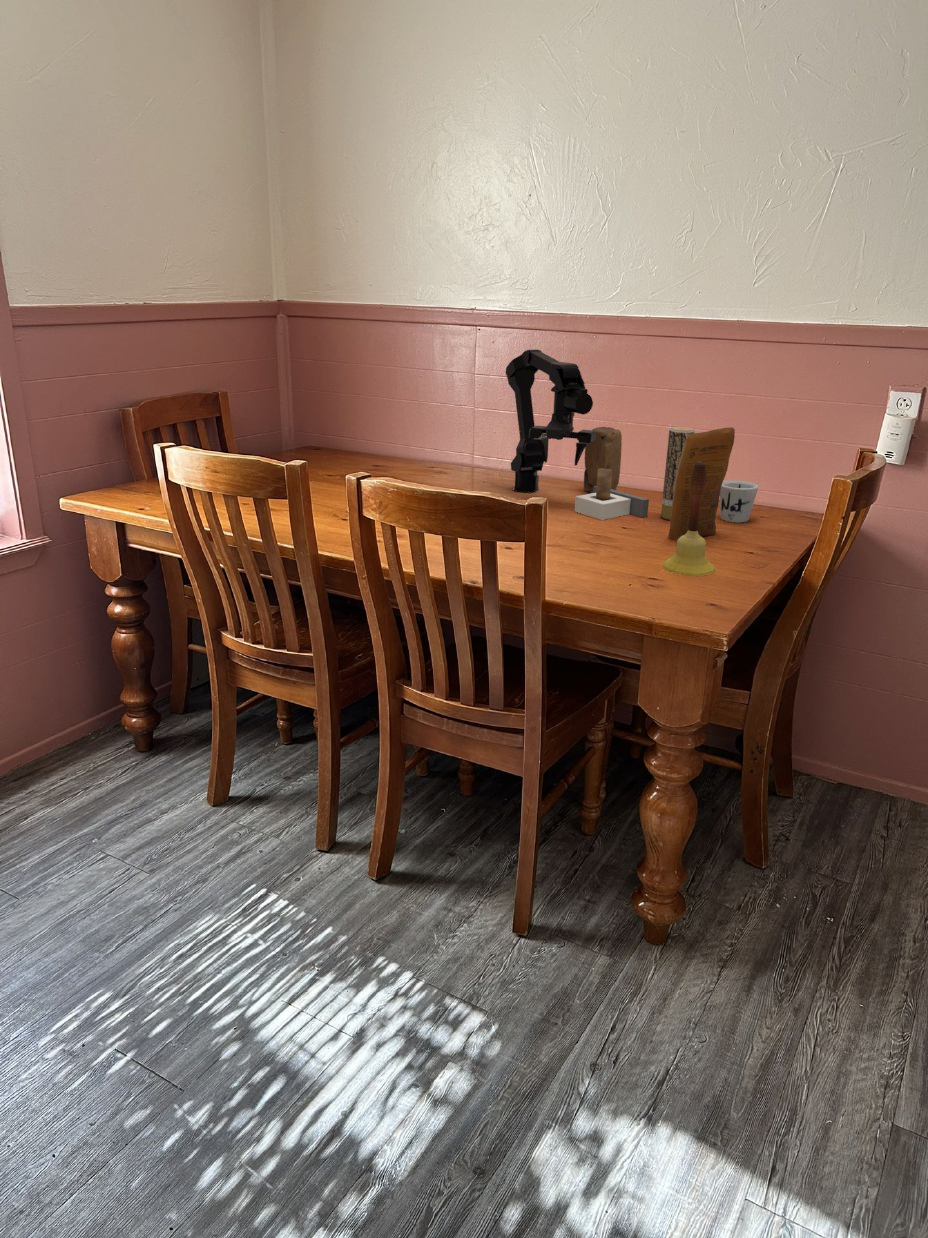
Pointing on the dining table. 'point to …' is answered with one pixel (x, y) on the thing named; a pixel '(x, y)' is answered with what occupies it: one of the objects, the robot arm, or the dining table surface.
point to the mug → (737, 500)
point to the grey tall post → (673, 465)
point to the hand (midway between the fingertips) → (560, 463)
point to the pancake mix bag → (716, 457)
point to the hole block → (602, 506)
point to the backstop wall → (633, 503)
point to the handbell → (692, 534)
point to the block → (603, 456)
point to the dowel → (603, 484)
